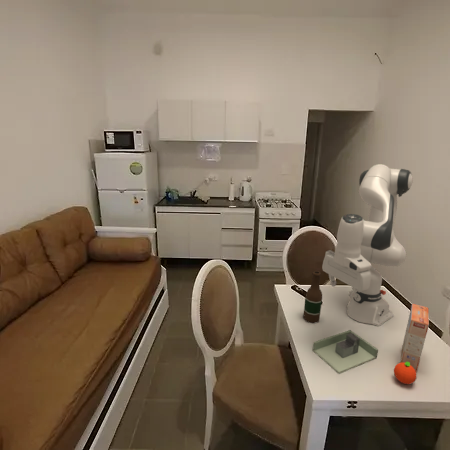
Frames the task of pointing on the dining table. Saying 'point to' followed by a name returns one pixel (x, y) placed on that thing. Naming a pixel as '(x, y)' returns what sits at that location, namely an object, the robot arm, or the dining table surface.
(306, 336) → the dining table surface
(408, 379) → the clementine
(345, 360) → the tray
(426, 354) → the dining table surface
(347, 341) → the bracket
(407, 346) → the cracker box
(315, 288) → the beer bottle
